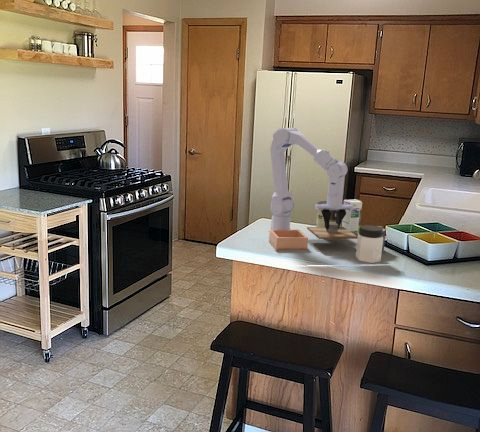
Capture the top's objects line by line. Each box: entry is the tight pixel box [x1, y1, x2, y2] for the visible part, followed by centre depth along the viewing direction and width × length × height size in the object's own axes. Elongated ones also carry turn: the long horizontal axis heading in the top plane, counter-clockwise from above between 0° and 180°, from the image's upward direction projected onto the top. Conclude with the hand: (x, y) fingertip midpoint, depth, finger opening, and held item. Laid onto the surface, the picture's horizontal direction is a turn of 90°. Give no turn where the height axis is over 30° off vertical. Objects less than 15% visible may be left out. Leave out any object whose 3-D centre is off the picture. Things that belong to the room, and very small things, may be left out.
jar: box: [355, 224, 384, 264], centre depth 180 cm, size 9×8×12 cm
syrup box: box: [341, 199, 363, 235], centre depth 217 cm, size 6×6×14 cm
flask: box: [377, 225, 387, 253], centre depth 189 cm, size 9×3×11 cm, turn 138°
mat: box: [308, 239, 356, 253], centre depth 197 cm, size 16×16×1 cm
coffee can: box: [315, 200, 342, 227], centre depth 210 cm, size 10×10×14 cm
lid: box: [306, 223, 358, 240], centre depth 195 cm, size 15×15×4 cm
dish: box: [268, 229, 309, 252], centre depth 194 cm, size 12×12×5 cm
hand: (331, 228), depth 195 cm, fingers closed on lid, 3 cm apart
